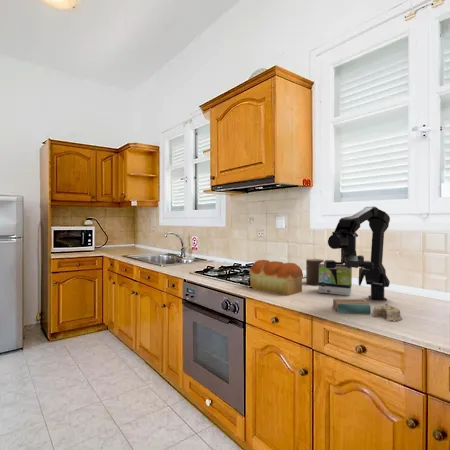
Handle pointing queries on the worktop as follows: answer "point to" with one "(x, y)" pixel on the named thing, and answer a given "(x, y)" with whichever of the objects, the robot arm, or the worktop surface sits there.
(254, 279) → the bread
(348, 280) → the tea box
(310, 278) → the pillar candle
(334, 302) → the slab
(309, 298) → the worktop surface
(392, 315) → the cake
